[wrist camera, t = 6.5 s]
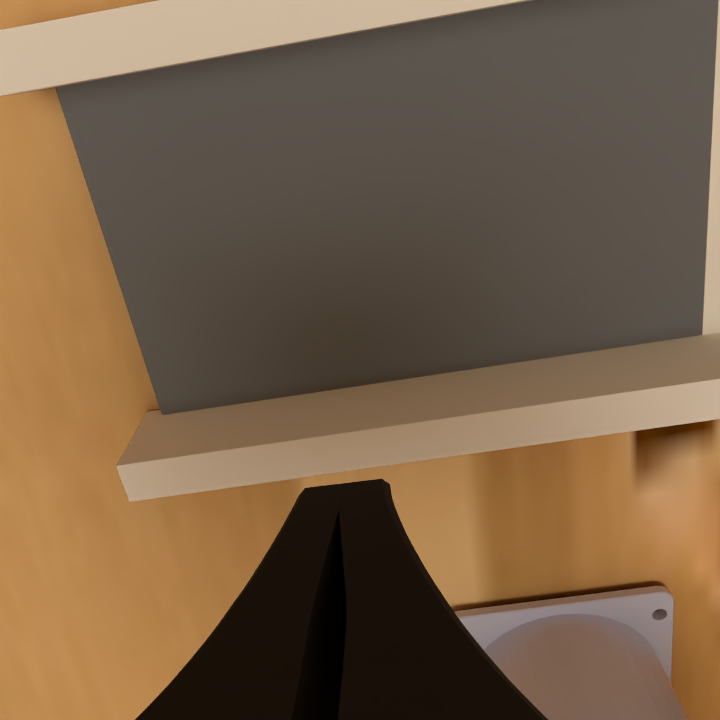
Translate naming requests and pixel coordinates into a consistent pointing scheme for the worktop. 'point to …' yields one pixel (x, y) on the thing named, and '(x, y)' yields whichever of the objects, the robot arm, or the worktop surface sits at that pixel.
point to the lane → (396, 222)
